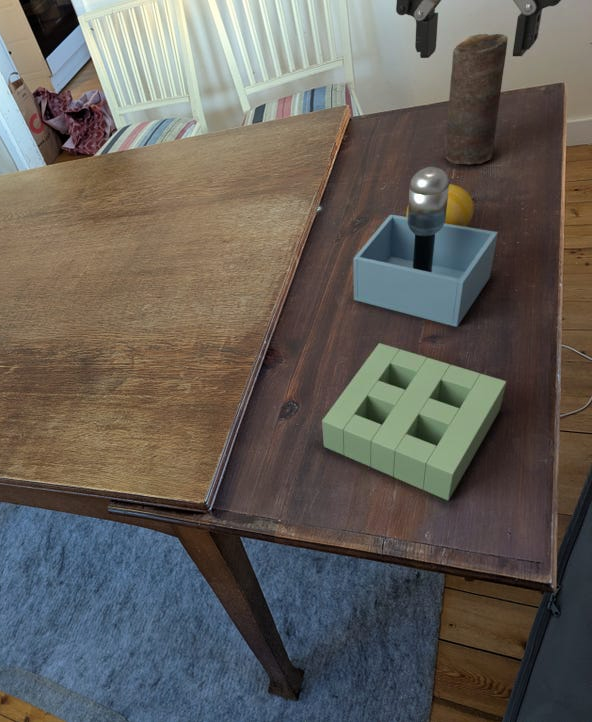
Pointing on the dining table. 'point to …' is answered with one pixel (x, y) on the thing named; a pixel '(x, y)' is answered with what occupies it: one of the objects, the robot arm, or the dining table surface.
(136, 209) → the dining table surface
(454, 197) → the fruit
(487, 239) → the tub
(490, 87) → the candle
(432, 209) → the microphone
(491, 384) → the rack
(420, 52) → the robot arm
